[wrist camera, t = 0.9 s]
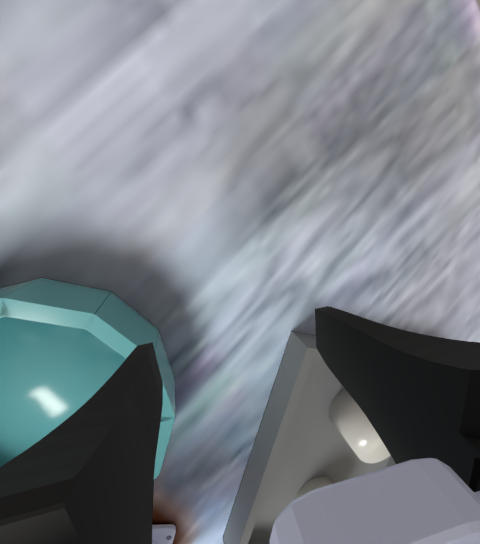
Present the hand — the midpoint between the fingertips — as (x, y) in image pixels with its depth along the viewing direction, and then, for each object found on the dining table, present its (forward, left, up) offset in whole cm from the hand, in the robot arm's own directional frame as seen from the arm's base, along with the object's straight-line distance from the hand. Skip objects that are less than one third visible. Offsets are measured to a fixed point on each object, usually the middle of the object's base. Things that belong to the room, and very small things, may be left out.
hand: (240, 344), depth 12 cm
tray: (-13, -16, -10) cm, 23 cm away
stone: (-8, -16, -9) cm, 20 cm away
